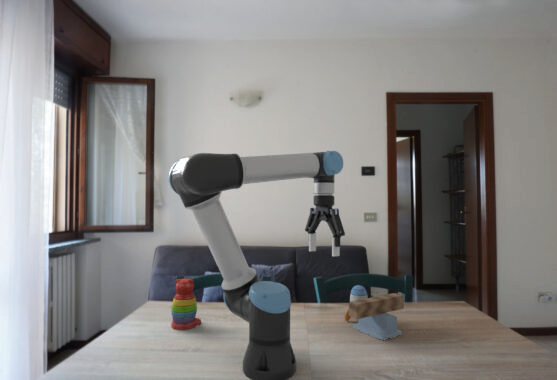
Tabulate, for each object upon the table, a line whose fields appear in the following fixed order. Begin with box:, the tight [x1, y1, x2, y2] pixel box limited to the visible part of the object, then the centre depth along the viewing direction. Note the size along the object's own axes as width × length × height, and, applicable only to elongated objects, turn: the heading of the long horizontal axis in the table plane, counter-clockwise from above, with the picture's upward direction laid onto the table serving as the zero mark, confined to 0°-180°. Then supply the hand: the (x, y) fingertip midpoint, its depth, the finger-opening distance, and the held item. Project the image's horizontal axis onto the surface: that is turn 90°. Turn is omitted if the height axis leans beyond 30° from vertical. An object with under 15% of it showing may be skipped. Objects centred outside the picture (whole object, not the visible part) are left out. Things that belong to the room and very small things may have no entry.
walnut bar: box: [348, 292, 405, 320], centre depth 131 cm, size 24×4×5 cm, turn 122°
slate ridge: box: [352, 312, 403, 341], centre depth 131 cm, size 10×14×7 cm
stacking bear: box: [170, 278, 202, 331], centre depth 136 cm, size 11×10×18 cm
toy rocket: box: [344, 284, 368, 322], centre depth 142 cm, size 10×11×15 cm
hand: (323, 253), depth 130 cm, fingers open, 13 cm apart
